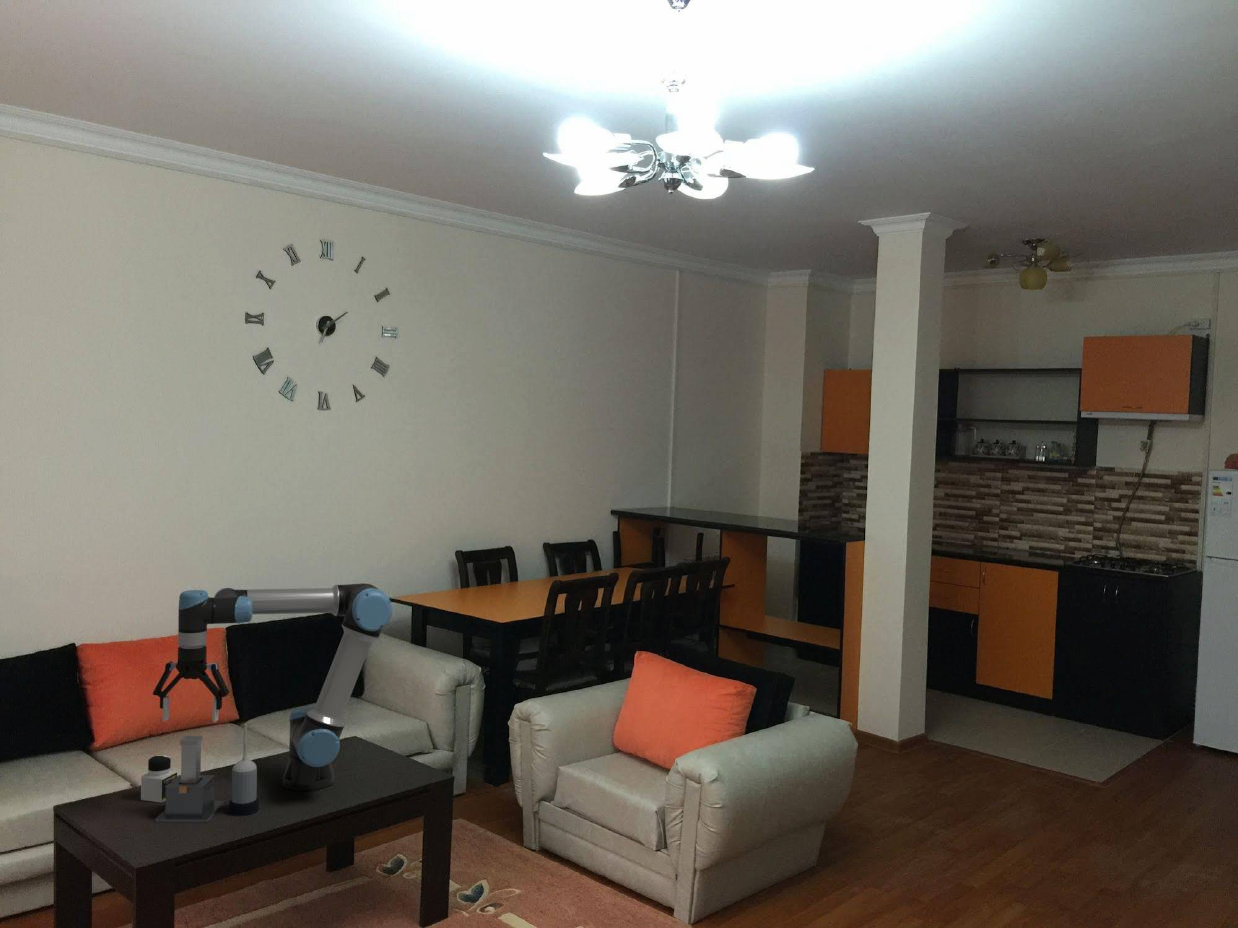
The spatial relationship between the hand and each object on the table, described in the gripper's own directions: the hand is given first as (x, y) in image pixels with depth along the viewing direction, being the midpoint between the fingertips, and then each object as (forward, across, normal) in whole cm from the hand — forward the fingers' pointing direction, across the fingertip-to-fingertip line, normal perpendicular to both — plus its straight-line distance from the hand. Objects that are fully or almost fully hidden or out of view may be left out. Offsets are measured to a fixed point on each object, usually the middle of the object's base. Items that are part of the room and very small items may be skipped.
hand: (190, 720), depth 290 cm
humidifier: (+26, -15, -2) cm, 30 cm away
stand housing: (+26, 0, 0) cm, 26 cm away
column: (+26, 0, 0) cm, 26 cm away
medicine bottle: (+27, +13, -12) cm, 32 cm away
